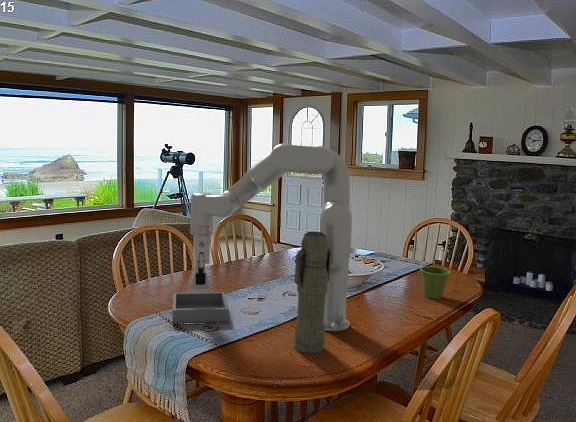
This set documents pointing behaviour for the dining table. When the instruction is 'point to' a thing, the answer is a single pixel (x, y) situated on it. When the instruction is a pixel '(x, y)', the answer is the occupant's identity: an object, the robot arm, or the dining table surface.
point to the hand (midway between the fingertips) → (200, 281)
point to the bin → (200, 308)
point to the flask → (194, 286)
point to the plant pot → (434, 281)
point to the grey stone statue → (311, 292)
